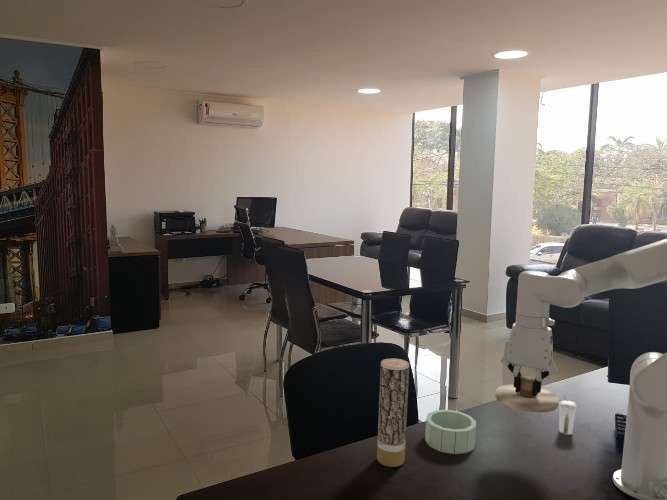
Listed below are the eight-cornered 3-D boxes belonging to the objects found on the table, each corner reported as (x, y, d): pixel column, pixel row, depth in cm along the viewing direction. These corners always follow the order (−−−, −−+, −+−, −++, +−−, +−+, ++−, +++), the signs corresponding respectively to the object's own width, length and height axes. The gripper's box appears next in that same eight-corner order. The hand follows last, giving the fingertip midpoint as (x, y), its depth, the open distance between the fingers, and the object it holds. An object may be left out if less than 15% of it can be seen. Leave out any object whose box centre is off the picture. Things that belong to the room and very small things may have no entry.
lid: (572, 409, 126) (574, 387, 126) (517, 415, 123) (519, 392, 122) (534, 386, 141) (535, 366, 140) (484, 390, 137) (485, 370, 137)
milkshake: (570, 428, 150) (573, 394, 149) (576, 437, 145) (579, 402, 144) (553, 427, 151) (556, 393, 149) (559, 435, 145) (562, 401, 144)
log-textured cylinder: (382, 470, 125) (386, 368, 122) (372, 455, 132) (376, 359, 128) (408, 466, 127) (413, 366, 124) (398, 452, 133) (402, 357, 130)
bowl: (483, 451, 135) (485, 429, 135) (437, 455, 132) (438, 433, 132) (461, 428, 148) (462, 408, 147) (418, 432, 145) (419, 411, 144)
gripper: (570, 323, 128) (564, 395, 130) (501, 313, 137) (497, 381, 139) (565, 330, 122) (559, 405, 124) (493, 319, 131) (489, 390, 133)
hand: (526, 392), depth 132 cm, fingers closed on lid, 3 cm apart
